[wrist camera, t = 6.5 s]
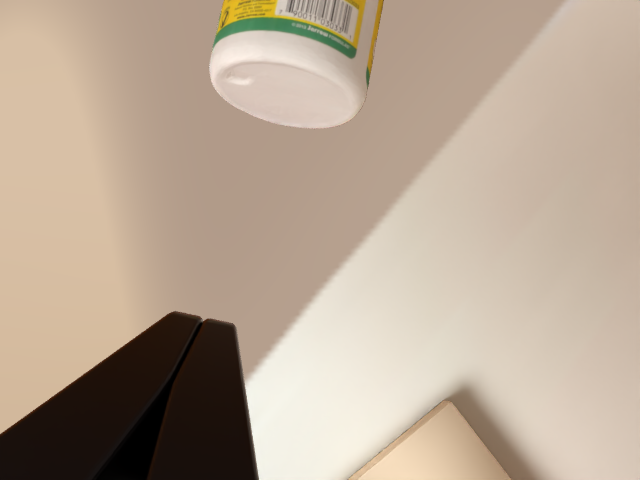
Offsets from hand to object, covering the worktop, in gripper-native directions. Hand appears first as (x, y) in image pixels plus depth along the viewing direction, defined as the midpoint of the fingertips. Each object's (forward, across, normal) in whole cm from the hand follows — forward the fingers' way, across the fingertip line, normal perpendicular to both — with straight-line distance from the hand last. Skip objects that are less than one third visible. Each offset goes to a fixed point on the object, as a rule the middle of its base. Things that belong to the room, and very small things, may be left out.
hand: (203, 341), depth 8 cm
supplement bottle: (+13, +1, +2) cm, 14 cm away
